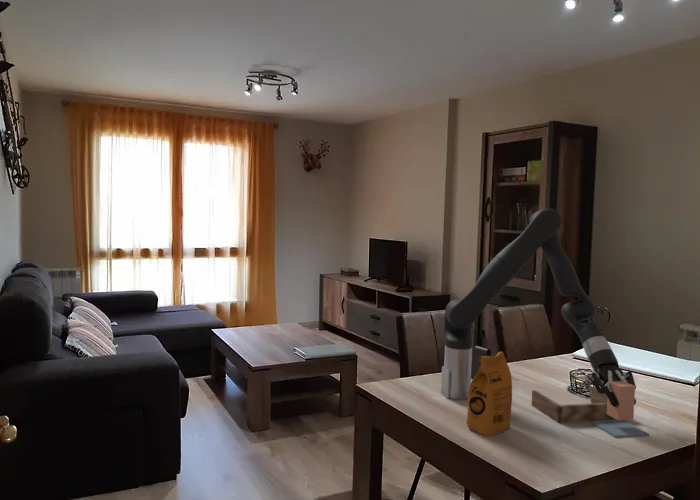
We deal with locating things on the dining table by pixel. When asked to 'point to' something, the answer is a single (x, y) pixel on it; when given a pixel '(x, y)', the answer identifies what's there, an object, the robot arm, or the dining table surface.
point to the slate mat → (619, 428)
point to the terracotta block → (622, 401)
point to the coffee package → (490, 396)
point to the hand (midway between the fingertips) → (625, 405)
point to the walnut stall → (573, 408)
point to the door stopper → (475, 362)
